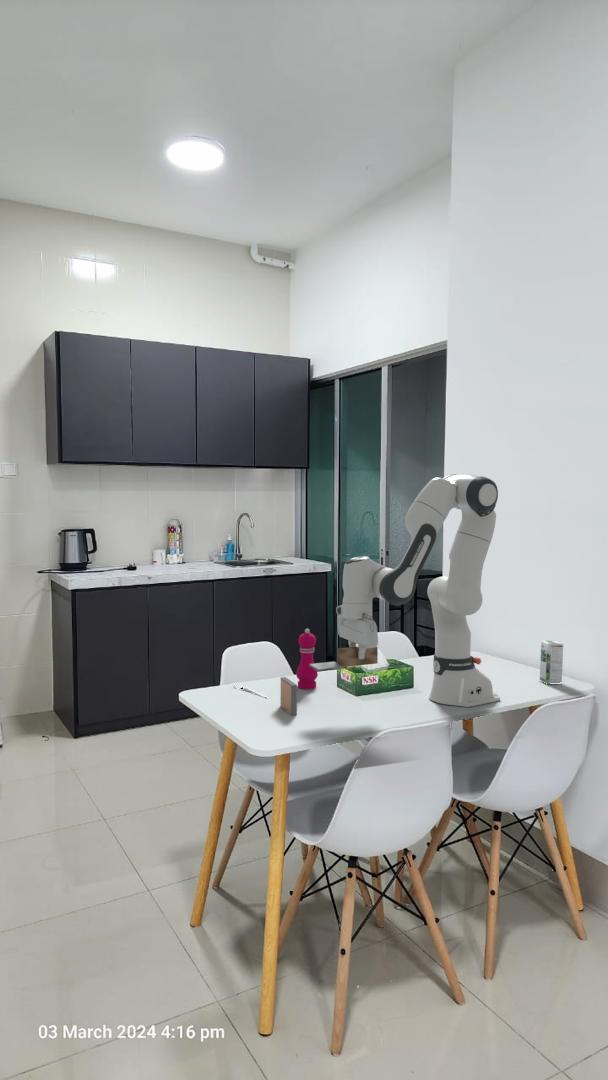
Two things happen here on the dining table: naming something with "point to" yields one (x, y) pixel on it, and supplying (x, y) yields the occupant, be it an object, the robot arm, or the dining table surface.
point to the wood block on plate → (348, 659)
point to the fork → (246, 689)
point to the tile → (289, 696)
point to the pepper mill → (306, 661)
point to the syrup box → (551, 661)
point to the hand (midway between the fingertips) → (357, 657)
